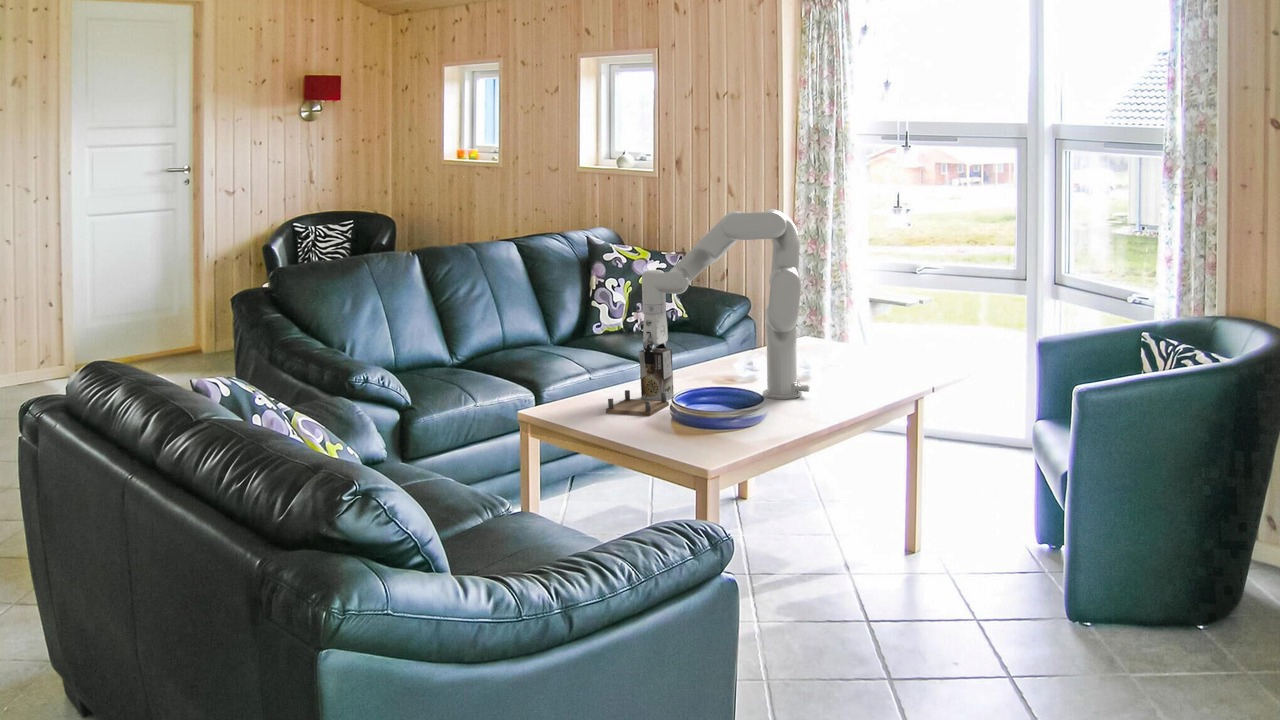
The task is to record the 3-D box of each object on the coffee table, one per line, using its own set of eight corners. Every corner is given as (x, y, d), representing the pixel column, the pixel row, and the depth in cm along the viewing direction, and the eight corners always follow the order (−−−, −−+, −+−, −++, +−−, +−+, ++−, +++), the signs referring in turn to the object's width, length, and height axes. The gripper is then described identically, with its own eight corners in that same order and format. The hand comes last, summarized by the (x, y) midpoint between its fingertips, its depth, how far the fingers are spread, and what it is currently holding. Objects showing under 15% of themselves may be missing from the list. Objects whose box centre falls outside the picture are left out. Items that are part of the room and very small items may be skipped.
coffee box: (674, 397, 394) (672, 348, 391) (664, 401, 388) (663, 352, 385) (650, 395, 398) (648, 347, 395) (640, 399, 393) (638, 350, 390)
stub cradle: (668, 405, 383) (668, 392, 382) (650, 415, 369) (649, 402, 368) (625, 402, 389) (625, 389, 388) (606, 412, 375) (605, 399, 374)
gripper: (654, 313, 379) (655, 366, 382) (675, 305, 394) (676, 357, 397) (632, 312, 382) (634, 365, 385) (654, 304, 397) (655, 355, 400)
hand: (655, 361), depth 391 cm, fingers open, 9 cm apart
